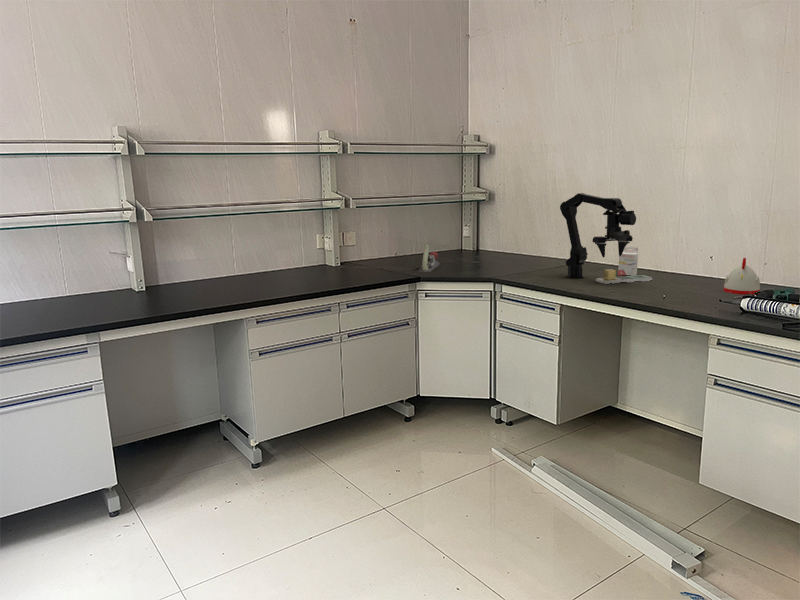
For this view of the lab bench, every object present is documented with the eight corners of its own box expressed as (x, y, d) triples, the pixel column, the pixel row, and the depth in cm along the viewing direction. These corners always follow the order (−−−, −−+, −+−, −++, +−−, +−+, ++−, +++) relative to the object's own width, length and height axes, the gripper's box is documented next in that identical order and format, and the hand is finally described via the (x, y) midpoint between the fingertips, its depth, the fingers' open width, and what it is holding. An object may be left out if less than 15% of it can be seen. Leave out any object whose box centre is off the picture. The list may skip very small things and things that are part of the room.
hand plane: (417, 272, 335) (417, 245, 332) (429, 264, 364) (428, 239, 361) (429, 272, 333) (429, 246, 330) (440, 264, 363) (440, 239, 359)
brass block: (607, 283, 289) (608, 270, 288) (603, 281, 293) (604, 269, 291) (615, 282, 290) (615, 270, 288) (610, 281, 294) (611, 269, 292)
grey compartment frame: (604, 283, 286) (604, 280, 286) (595, 281, 294) (595, 277, 294) (652, 280, 292) (652, 277, 291) (642, 278, 299) (642, 274, 299)
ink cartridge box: (617, 275, 309) (619, 247, 306) (619, 274, 313) (621, 246, 310) (634, 276, 304) (636, 248, 301) (636, 275, 308) (638, 247, 305)
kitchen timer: (721, 292, 261) (725, 259, 257) (725, 287, 272) (728, 255, 269) (758, 295, 253) (762, 261, 250) (760, 290, 264) (764, 256, 261)
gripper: (605, 226, 276) (604, 259, 279) (640, 224, 280) (639, 257, 283) (592, 225, 286) (591, 257, 289) (626, 223, 291) (624, 254, 294)
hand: (611, 256), depth 289 cm, fingers open, 9 cm apart
